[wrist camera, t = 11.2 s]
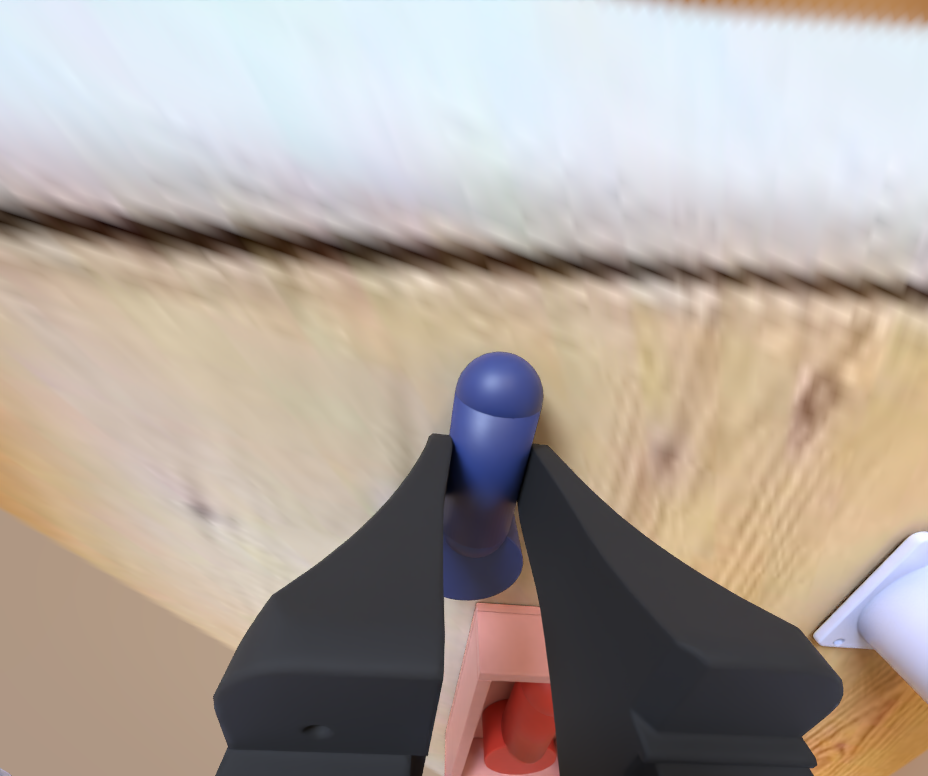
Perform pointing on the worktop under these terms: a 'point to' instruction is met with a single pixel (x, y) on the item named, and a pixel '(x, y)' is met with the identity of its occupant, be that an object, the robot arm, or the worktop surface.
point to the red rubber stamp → (520, 730)
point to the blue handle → (488, 474)
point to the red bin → (493, 680)
